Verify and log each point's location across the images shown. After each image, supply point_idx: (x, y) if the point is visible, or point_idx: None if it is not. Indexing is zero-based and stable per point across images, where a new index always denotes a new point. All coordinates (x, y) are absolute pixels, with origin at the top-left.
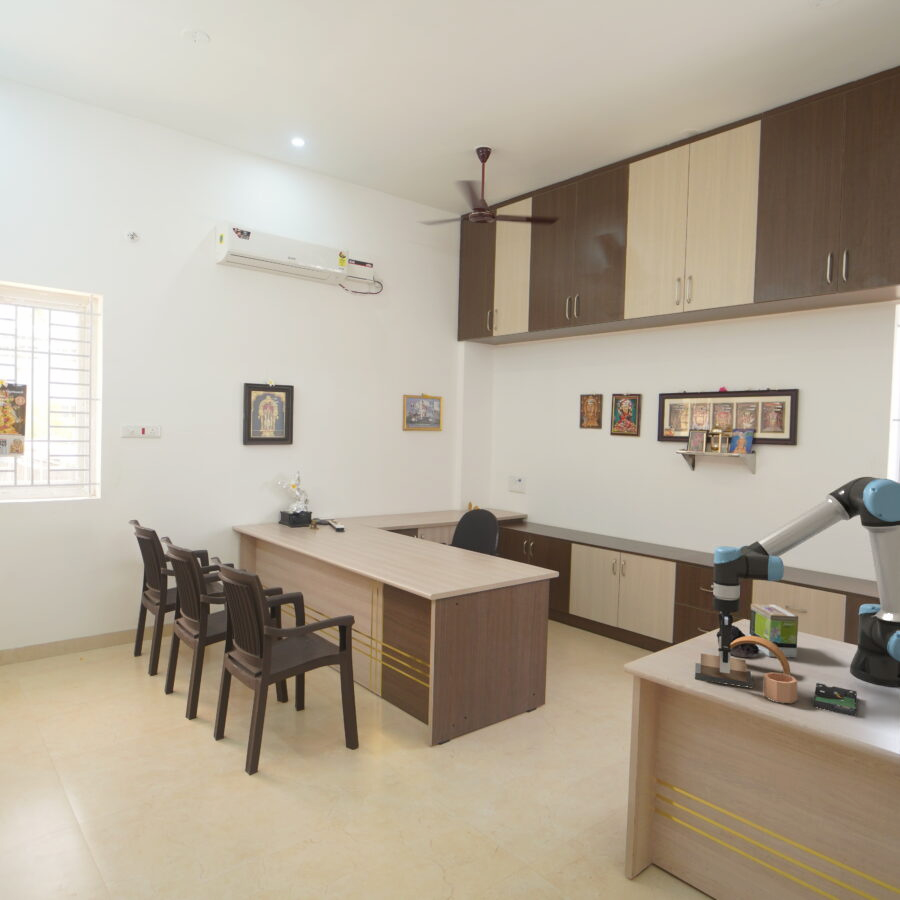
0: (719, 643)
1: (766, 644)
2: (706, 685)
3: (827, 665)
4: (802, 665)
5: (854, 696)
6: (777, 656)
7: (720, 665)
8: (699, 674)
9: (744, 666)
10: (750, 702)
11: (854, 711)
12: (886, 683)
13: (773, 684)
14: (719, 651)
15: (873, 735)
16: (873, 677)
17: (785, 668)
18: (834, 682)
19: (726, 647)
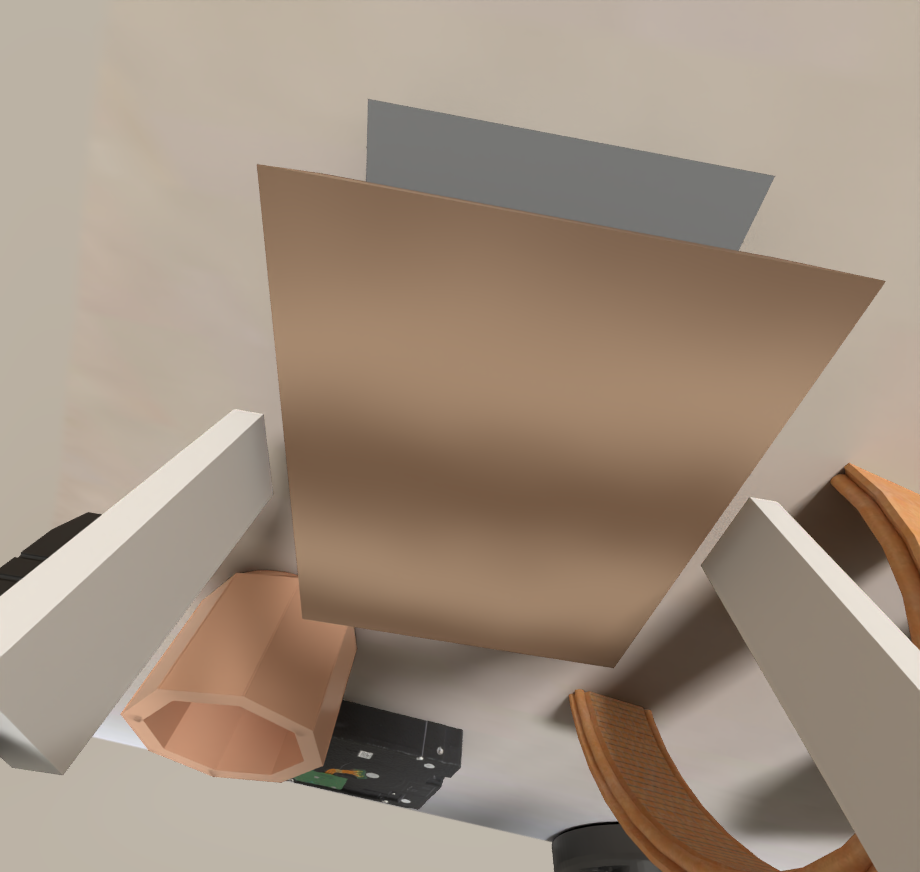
0: (899, 675)
1: None
2: (261, 232)
3: (743, 810)
4: (751, 767)
5: (372, 793)
6: (631, 819)
7: (181, 456)
8: (368, 169)
9: (440, 630)
10: (124, 485)
11: None
12: (554, 850)
13: (152, 679)
14: (794, 555)
15: (127, 727)
16: (571, 858)
17: (585, 751)
18: (560, 779)
19: (787, 677)
